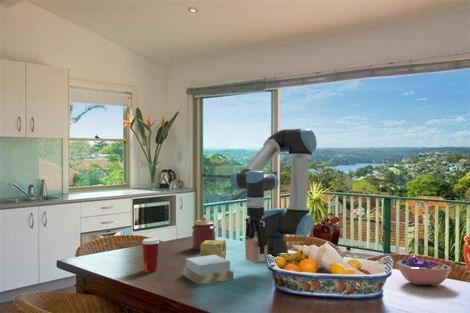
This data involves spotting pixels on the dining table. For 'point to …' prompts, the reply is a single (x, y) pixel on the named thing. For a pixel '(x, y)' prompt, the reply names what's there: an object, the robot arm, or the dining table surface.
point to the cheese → (213, 248)
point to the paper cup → (150, 254)
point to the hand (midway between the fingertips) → (256, 259)
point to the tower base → (208, 276)
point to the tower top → (207, 264)
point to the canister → (202, 232)
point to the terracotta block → (253, 250)
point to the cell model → (423, 271)
